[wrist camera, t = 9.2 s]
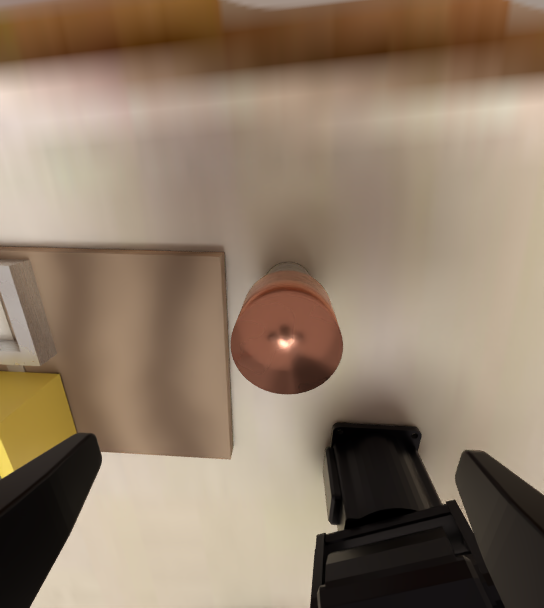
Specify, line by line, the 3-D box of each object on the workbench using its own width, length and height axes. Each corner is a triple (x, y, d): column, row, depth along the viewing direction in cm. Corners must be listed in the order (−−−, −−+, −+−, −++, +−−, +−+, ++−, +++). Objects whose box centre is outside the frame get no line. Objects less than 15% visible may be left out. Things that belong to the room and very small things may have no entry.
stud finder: (59, 373, 21) (-7, 428, 17) (81, 448, 24) (29, 514, 19) (-22, 370, 22) (-110, 423, 17) (8, 444, 24) (-61, 508, 20)
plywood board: (224, 252, 19) (219, 257, 18) (233, 447, 25) (230, 460, 24) (-80, 244, 20) (-104, 248, 19) (-2, 433, 26) (-16, 445, 24)
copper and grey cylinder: (325, 251, 18) (348, 297, 11) (320, 317, 20) (337, 396, 13) (253, 249, 19) (228, 294, 11) (254, 315, 20) (232, 391, 13)
